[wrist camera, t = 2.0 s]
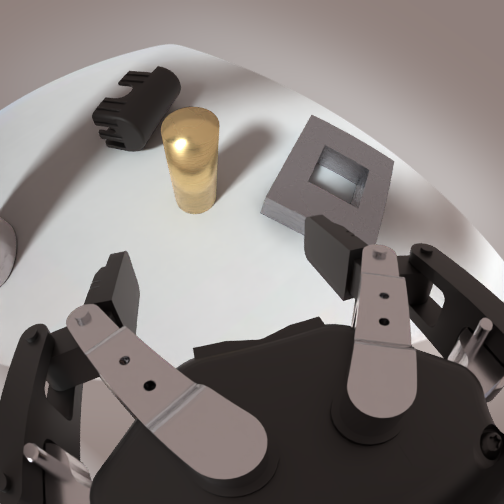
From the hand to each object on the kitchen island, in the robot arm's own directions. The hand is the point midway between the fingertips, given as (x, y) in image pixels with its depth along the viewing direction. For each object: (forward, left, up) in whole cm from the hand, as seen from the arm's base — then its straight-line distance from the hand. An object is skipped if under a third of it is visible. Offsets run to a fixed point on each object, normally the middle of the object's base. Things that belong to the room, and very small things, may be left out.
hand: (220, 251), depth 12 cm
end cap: (-19, +15, -15) cm, 29 cm away
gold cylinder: (-7, +9, -15) cm, 19 cm away
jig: (+6, +17, -15) cm, 23 cm away
